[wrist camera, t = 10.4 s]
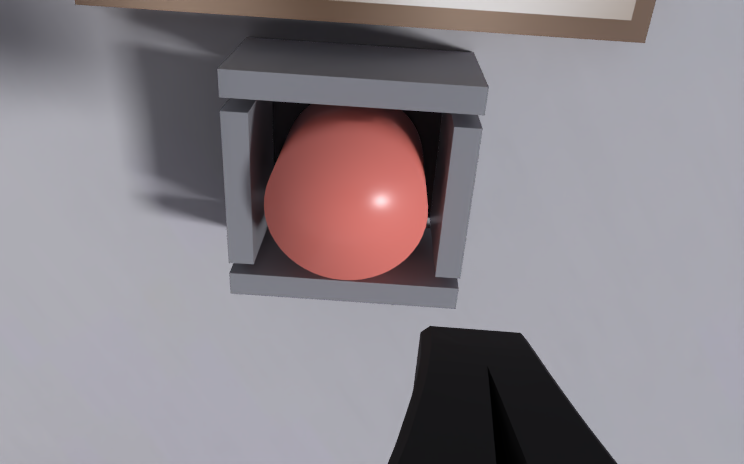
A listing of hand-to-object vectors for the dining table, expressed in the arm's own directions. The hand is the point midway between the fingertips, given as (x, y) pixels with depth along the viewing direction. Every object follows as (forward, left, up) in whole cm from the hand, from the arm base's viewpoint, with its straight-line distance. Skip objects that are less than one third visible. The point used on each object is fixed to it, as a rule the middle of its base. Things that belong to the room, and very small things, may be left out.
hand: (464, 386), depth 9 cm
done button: (+2, 0, -9) cm, 9 cm away
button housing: (+2, 0, -9) cm, 10 cm away
